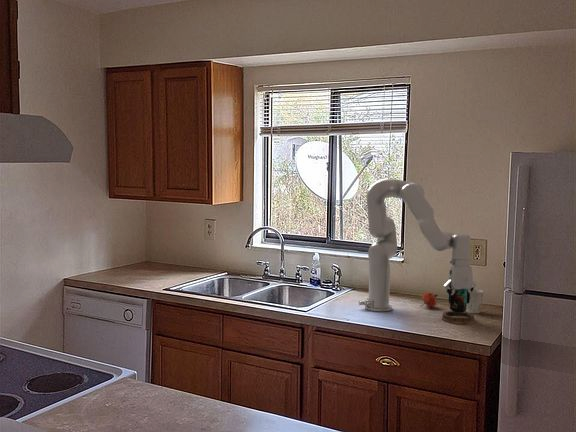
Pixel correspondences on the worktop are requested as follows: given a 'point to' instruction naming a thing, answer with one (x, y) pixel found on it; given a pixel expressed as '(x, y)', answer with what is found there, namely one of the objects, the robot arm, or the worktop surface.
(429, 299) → the pomegranate
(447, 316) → the tray
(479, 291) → the mug
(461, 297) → the beverage can
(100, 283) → the worktop surface
